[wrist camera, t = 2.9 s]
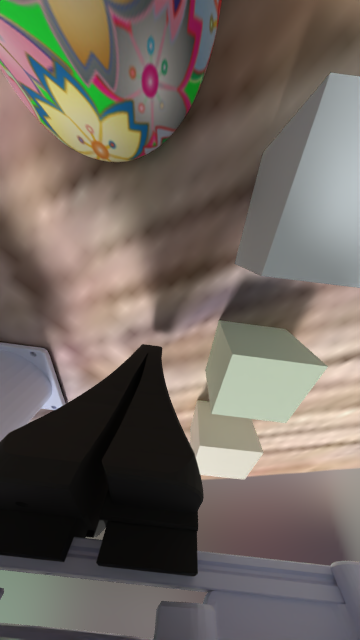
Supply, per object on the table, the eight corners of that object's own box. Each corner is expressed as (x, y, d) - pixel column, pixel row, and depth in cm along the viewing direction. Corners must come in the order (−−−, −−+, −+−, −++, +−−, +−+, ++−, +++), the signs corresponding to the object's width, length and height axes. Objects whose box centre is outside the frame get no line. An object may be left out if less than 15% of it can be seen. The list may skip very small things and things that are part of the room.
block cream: (190, 427, 18) (190, 473, 14) (197, 398, 16) (199, 445, 12) (233, 432, 18) (244, 479, 14) (246, 404, 16) (263, 452, 12)
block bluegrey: (234, 263, 10) (261, 275, 6) (261, 154, 7) (330, 72, 4) (312, 273, 10) (385, 290, 6) (363, 167, 7) (525, 98, 4)
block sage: (205, 369, 14) (211, 413, 10) (218, 319, 11) (232, 354, 8) (260, 376, 14) (286, 423, 10) (284, 328, 12) (327, 366, 8)
